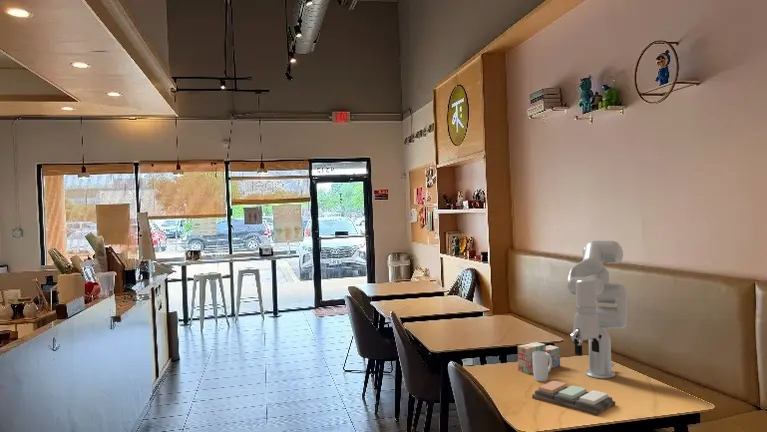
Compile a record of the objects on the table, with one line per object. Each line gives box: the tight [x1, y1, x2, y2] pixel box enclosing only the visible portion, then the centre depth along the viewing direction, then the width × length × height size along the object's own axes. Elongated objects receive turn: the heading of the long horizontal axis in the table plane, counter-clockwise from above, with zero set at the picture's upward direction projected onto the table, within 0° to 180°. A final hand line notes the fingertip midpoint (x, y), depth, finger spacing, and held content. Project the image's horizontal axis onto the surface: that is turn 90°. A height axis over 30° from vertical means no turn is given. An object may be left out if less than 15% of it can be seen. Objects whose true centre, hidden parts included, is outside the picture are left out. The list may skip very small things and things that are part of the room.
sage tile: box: [559, 385, 587, 400], centre depth 223 cm, size 11×6×2 cm, turn 132°
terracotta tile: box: [538, 380, 567, 394], centre depth 230 cm, size 11×6×2 cm, turn 132°
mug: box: [532, 351, 552, 382], centre depth 253 cm, size 10×7×12 cm, turn 116°
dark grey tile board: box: [531, 385, 616, 417], centre depth 224 cm, size 15×28×3 cm, turn 42°
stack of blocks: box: [517, 341, 561, 375], centre depth 268 cm, size 21×6×12 cm, turn 117°
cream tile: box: [579, 389, 609, 405], centre depth 217 cm, size 11×6×2 cm, turn 132°
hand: (587, 353), depth 221 cm, fingers open, 9 cm apart
